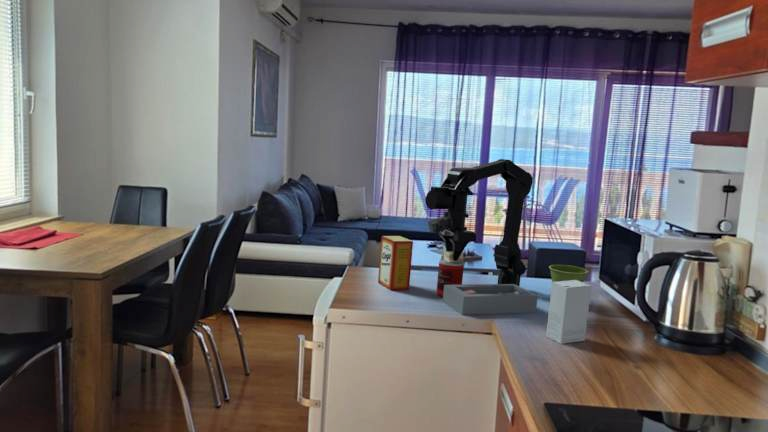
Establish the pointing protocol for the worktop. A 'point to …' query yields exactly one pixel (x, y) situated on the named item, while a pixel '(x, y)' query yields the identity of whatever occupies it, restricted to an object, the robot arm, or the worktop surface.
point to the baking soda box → (395, 262)
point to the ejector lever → (497, 292)
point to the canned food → (449, 275)
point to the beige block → (449, 257)
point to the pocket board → (489, 299)
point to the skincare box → (568, 311)
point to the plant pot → (567, 273)
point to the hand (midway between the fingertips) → (452, 259)
